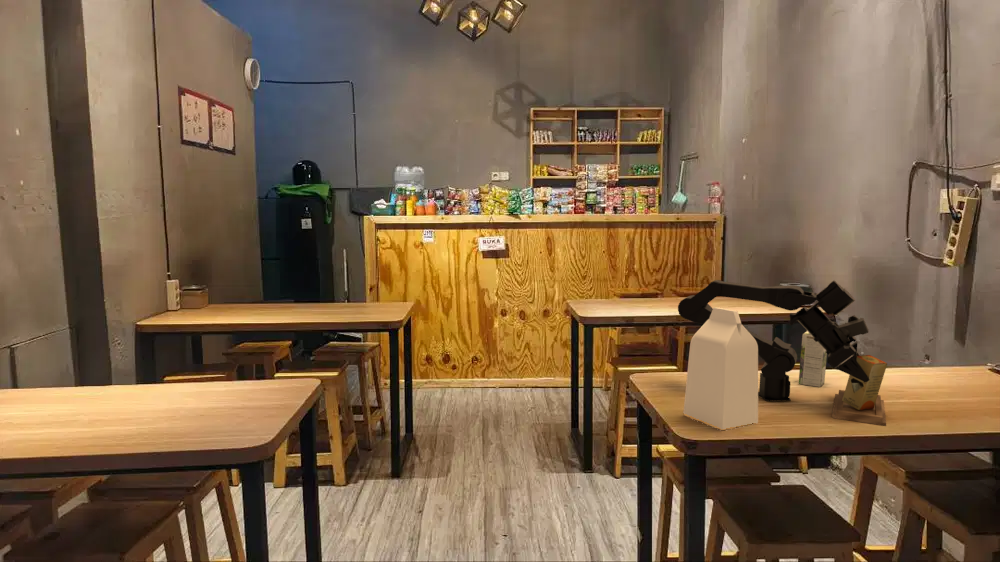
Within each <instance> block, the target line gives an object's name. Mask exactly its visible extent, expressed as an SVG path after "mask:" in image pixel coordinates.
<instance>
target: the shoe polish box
mask: <svg viewBox="0 0 1000 562" xmlns="http://www.w3.org/2000/svg"><path fill="white" fill-rule="evenodd" d="M859 355H860V356H857V361H858V363H859V364H860V366H861V367H862V369H863V370H864V371H865V373H866V374H867V376H868V377H869V379H870V380H869V381H868V382H864V381H862V380H860V379H858V378H856V377H853V376H851V375H849V374H848V379H847V383H846V386H845V392H844V396H843V399H842V401H844V402H845V403H847V404H849V405H851V406H852V407H854V408H856V409H858V410H866V409H874V406H875V403H876V399H877V396H878V395H879V393H880V390H881V386H882V382H883V379H884V376H885V372H886V369H887V367H888V362H885V361H883V360H881V359H879V358H877V357H875V356H872V355H871V354H863V355H861V354H859Z"/></svg>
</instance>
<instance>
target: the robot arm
mask: <svg viewBox="0 0 1000 562" xmlns="http://www.w3.org/2000/svg"><path fill="white" fill-rule="evenodd" d="M717 297H723V298H732V299H738V300H745V301H755V302H762V303H766V304H769V305H771V306H773V307H775V308H780V309H783V310H785V311H786V310H787V311H796V310H797V312H795V313H794V312H793V313H792V312H790V313H789V325H790V326H792V325H794V324H795V323H796V322H798V323H799V324H800V325H801V326H802V327H803V328H804V329H805V330H806V331H808V332H809V333H810V334H811V335H812V336H813V337H814V338H813V339H814V340H815V342H817V341H818V342H819V344H820V345H821V346H822V347H823V348H824V349H825V350H826V353H827V363H828V364H829V366H830V367H831V368H832V369H835V370H837V371H840V372H843V373H845V374H847V375H848V376H849V375H851V376H853V377H856V378H858V379H860V380H862V381H864V382H868V381H869V380H870V379H869V377H868V376H867V374H866V373H865V371H864V370H863V369H862V367H861V366H860V364H859V363H858V361H857V356H860V355H861V354H860V353H859V351H858V341H857V338H856V337H857V336H860V335H866V334H869V327H868V325H867V323H866V321H865V319H864V318H863V317H860V318H859V317H857V316H856V315H855V314H854V315H850V316H848V319H847V322H844V323H842V324H838V323H837V322H836V321H832V320H831V319H830V318H829V317H828V316H830V315H834V316H837V315H838V314H840V313H841V312H842V311H844V310H845V309H846V308H847V307H850V306H851V305H852V304H853V303H855V302H856V299H855V298H854V297H853V295H852V294H850V292H849V291H848V290H847V289H846V288H843V286H841V284H839V283H838V282H837V281H836V280H832V281H831V282H830V283H828V285H827V286H826V287H824V288H823V289H822V290H821V291H819V292H818V293H816V292H811V291H806V290H804V289H803V288H802V287H801V286H799V285H794V284H791V285H790V284H789V285H774V286H763V285H753V284H747V283H740V282H739V283H738V282H729V281H722V280H720V279H714V280H713V281H711V282H709V284H708V285H707V286H706V287H704V288H703V289H702V290H700V291H699V292H698V293H695V294H692V295H688V296H686V297H685V298H683V299H682V300H680V302H679V303H678V305H677V311H678V315H679V316H680V317H681V318H683V319H685V320H687V321H691V322H693V323H695V324H701V325H702V326H703V325H704V323H705V322H706V321H707V320H708V319H710V318H709V317H710V315H711V313H712V310H713V308H714V307H712V306H711V305H710V302H711V301H713V300H714V299H716V298H717ZM812 304H813V305H812ZM802 306H803V307H802ZM806 306H810V307H806ZM818 306H819V307H820V308H819V307H818ZM801 307H802V308H801ZM798 309H799V310H798ZM821 309H822V310H821ZM823 311H824V312H825V313H824V312H823ZM826 314H827V315H828V316H827V315H826ZM746 330H747V331H748V332H749V333H750V334H751V335H752V336H753V337H754V339H755V340H756V342H757V345H758V357H760V358H761V359H762V360H763V362H764V363H763V365H762V367H761V369H760V373H759V385H758V397H759V398H761V399H762V400H764V401H766V402H791V401H792V398H791V397H790V396H791V380H790V375H788V374H787V373H789V372H791V371H792V370H793V369H794V368H795V366H796V363H797V360H798V355H797V352H796V350H795V349H794V348H793V347H791V346H792V343H791V344H790V343H787V342H784V341H783V340H782V339H781V338H779V337H777V336H776V337H775V338H774V340H771V339H770V340H769V339H766V338H764V337H763V336H760V335H759V334H756V333H754V331H751V330H749V329H747V328H746Z"/></svg>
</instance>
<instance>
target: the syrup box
mask: <svg viewBox="0 0 1000 562" xmlns="http://www.w3.org/2000/svg"><path fill="white" fill-rule="evenodd" d="M801 337H802V338H801V349H800V362H799V375H798V384H799V385H803V386H804V385H805V386H809V387H817V388H821V387H822V386H823V385H824V384H825V381H826V369H827V368H826V367H827V360H828V354H827V353H826V350H825V349H824V348H823V347H822V346H821V345H820V344H819V342H818V341H817V342H815V340H814V339H813V338H814V337H813V336H812V335H811V334H810V333H809V332H808V331H807V330H806V331H805V332H804V333H802V336H801Z"/></svg>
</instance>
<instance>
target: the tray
mask: <svg viewBox="0 0 1000 562" xmlns="http://www.w3.org/2000/svg"><path fill="white" fill-rule="evenodd" d="M844 392H845V390H844V389H838V393H834V400H833V407H832V414H831V418H832V419H838V420H844V421H851V422H856V423H864V424H870V425H871V424H872V425H879V426H887V421H886V420H887V419H886V410H885V400H884V399H882V398H881V394H878V396H877V399H876V403H875V406H874V409H866V410H858V409H856V408H854V407H852V406H851V405H849V404H847V403H845V402H844V401H842V399H843V396H844Z"/></svg>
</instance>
